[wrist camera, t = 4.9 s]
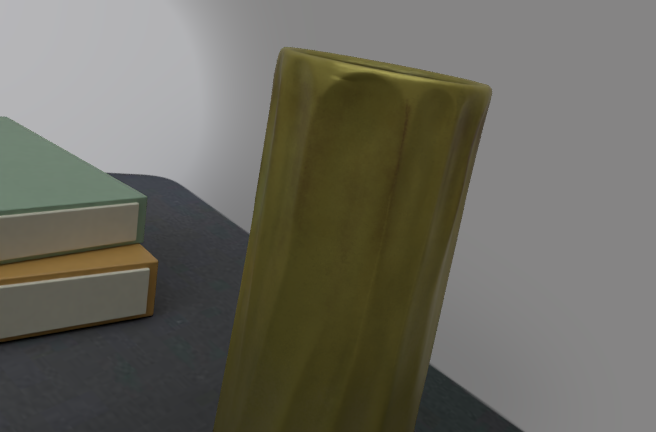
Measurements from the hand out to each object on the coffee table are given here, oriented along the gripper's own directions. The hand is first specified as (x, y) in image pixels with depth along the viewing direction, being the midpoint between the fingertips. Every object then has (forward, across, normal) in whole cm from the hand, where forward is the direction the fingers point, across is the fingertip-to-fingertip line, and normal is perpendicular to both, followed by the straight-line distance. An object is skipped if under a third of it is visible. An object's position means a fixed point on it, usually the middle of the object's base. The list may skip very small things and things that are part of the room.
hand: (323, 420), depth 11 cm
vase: (+5, 0, -8) cm, 10 cm away
